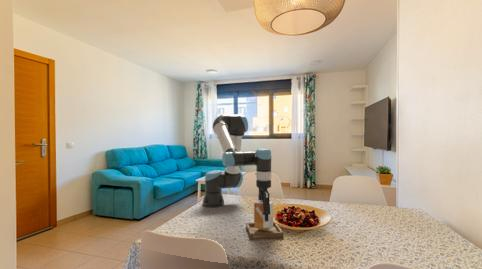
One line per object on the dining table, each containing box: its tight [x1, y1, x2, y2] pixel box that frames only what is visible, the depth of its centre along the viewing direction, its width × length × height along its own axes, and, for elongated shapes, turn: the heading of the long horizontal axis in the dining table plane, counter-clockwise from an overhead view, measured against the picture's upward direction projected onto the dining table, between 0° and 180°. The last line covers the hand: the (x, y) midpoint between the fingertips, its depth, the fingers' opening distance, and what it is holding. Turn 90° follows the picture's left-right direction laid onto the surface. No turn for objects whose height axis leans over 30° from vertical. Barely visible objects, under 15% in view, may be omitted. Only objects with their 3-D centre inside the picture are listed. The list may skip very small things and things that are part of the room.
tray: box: [245, 222, 284, 241], centre depth 118 cm, size 14×16×2 cm
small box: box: [253, 199, 274, 231], centre depth 118 cm, size 8×6×13 cm
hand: (263, 223), depth 118 cm, fingers closed on small box, 10 cm apart
